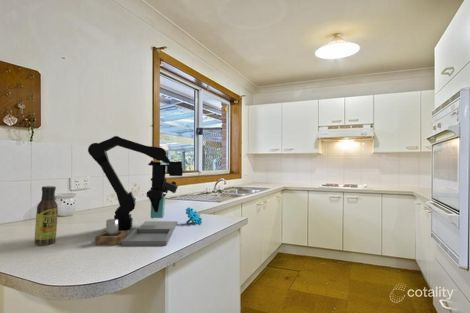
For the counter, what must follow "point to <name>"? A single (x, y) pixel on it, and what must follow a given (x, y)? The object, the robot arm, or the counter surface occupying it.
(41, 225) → the sauce bottle
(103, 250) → the counter surface
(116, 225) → the silver metal cylinder
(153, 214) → the block
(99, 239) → the square wooden tray
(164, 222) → the case
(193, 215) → the blue toy frog
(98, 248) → the counter surface
